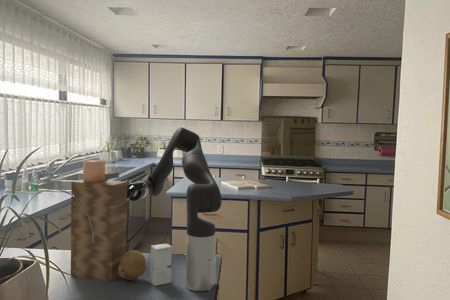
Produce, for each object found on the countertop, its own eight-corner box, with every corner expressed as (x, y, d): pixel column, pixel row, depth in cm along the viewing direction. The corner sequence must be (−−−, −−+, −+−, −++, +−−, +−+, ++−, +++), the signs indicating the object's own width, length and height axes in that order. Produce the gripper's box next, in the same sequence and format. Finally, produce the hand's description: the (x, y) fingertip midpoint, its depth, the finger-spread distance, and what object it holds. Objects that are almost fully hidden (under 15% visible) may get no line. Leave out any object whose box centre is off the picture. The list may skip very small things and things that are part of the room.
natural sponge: (152, 278, 118) (153, 249, 118) (133, 288, 111) (134, 257, 110) (132, 272, 123) (133, 244, 122) (113, 281, 115) (113, 252, 115)
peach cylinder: (123, 177, 131) (123, 159, 131) (96, 183, 116) (96, 162, 116) (107, 176, 133) (107, 158, 133) (78, 181, 118) (78, 161, 117)
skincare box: (154, 286, 113) (155, 249, 112) (149, 281, 116) (149, 245, 116) (171, 282, 116) (172, 246, 115) (166, 277, 120) (167, 242, 119)
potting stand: (125, 272, 123) (127, 181, 122) (111, 281, 115) (112, 184, 113) (87, 266, 128) (88, 178, 126) (70, 274, 120) (71, 181, 118)
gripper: (119, 190, 150) (100, 197, 134) (146, 174, 148) (130, 179, 132) (127, 206, 149) (109, 214, 133) (155, 190, 147) (139, 196, 131)
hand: (119, 196), depth 132 cm, fingers open, 8 cm apart
